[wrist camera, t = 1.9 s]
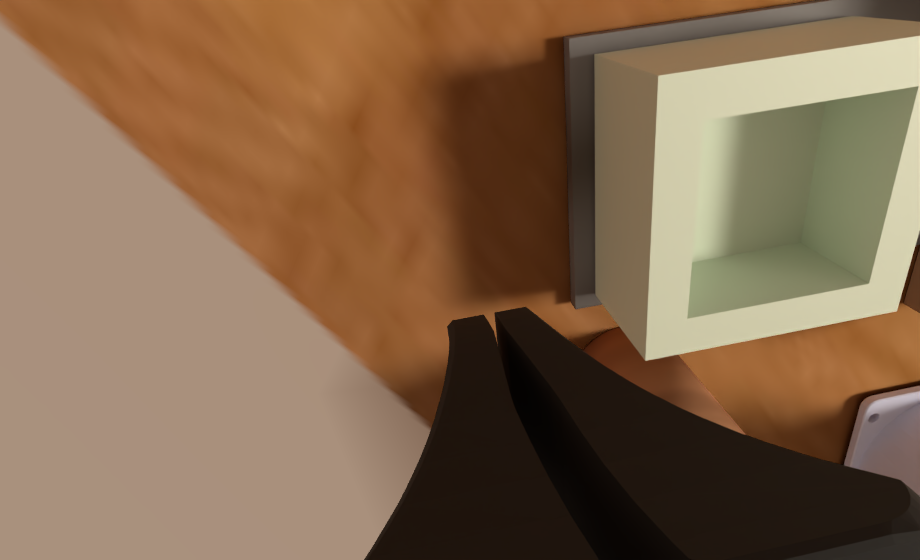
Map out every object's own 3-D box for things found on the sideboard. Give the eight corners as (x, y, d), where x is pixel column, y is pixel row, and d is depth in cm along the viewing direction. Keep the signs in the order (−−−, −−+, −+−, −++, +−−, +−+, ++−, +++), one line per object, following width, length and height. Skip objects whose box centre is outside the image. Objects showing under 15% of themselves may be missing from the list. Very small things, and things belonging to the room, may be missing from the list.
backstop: (947, 294, 24) (1113, 384, 19) (572, 368, 23) (639, 487, 18) (1094, -152, 17) (1425, -207, 12) (560, -85, 16) (665, -113, 10)
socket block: (807, 255, 21) (896, 311, 18) (595, 295, 21) (645, 360, 17) (852, 15, 18) (977, 26, 14) (594, 54, 17) (658, 75, 13)
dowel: (667, 398, 24) (794, 570, 17) (573, 417, 24) (665, 600, 17) (672, 316, 22) (818, 473, 15) (571, 336, 22) (674, 505, 15)
